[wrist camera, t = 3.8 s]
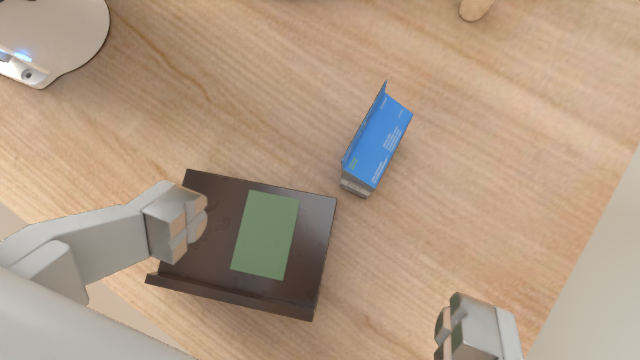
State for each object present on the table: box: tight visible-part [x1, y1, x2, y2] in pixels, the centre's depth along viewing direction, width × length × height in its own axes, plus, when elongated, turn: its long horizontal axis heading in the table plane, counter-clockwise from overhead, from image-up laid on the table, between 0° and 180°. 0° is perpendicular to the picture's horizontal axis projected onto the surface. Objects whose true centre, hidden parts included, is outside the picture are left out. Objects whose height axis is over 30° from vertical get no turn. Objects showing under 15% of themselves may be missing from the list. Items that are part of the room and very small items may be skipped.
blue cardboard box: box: [340, 79, 413, 199], centre depth 34 cm, size 9×4×12 cm, turn 151°
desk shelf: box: [145, 169, 337, 322], centre depth 36 cm, size 18×13×5 cm
